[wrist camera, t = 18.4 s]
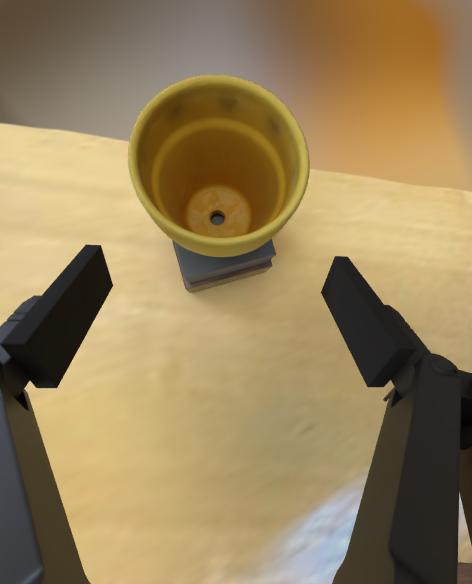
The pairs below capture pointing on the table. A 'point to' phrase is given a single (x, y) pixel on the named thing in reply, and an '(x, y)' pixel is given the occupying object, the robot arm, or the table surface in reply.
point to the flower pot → (218, 164)
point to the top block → (220, 260)
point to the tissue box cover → (464, 573)
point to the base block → (222, 276)
